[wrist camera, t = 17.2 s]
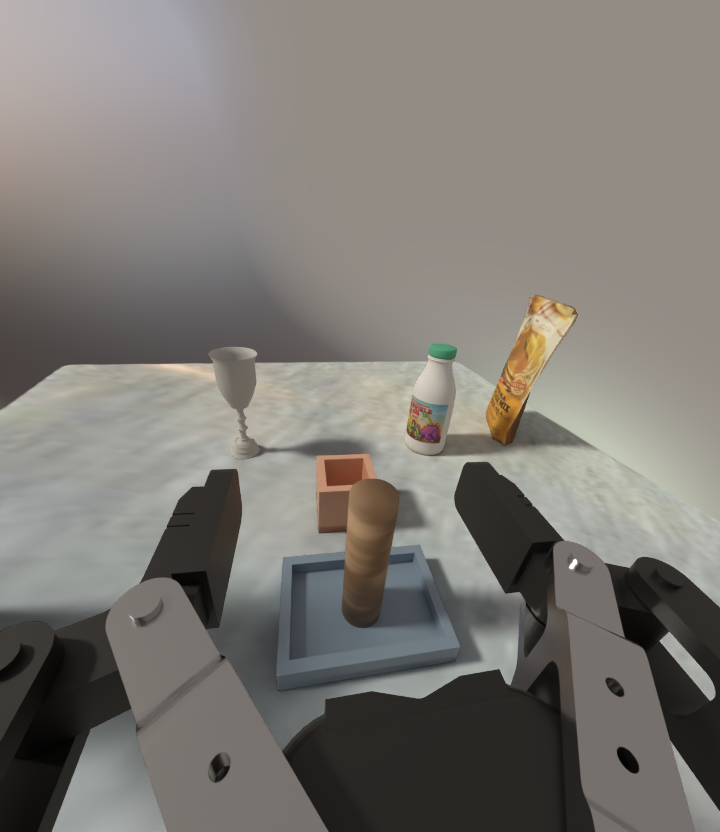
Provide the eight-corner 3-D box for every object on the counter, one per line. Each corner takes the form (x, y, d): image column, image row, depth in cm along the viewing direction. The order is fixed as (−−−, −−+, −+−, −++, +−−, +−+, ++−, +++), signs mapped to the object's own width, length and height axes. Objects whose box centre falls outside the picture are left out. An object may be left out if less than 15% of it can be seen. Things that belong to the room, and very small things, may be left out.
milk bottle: (418, 431, 67) (435, 338, 57) (450, 446, 62) (474, 348, 53) (396, 443, 62) (411, 344, 52) (430, 461, 57) (452, 355, 48)
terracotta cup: (318, 533, 41) (319, 492, 38) (316, 493, 47) (316, 455, 44) (374, 528, 42) (380, 488, 39) (365, 490, 49) (368, 453, 46)
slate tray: (277, 691, 26) (275, 676, 25) (283, 572, 36) (282, 557, 34) (454, 661, 29) (460, 647, 28) (416, 558, 38) (419, 544, 37)
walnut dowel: (343, 630, 30) (353, 515, 23) (339, 590, 33) (346, 479, 26) (384, 625, 30) (405, 511, 23) (376, 586, 34) (392, 477, 27)
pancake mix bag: (508, 412, 79) (548, 294, 66) (527, 453, 62) (585, 307, 49) (481, 408, 80) (514, 291, 67) (492, 447, 63) (539, 302, 50)
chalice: (273, 450, 57) (266, 354, 48) (241, 468, 52) (227, 364, 43) (248, 436, 60) (237, 344, 52) (215, 451, 55) (198, 352, 47)
